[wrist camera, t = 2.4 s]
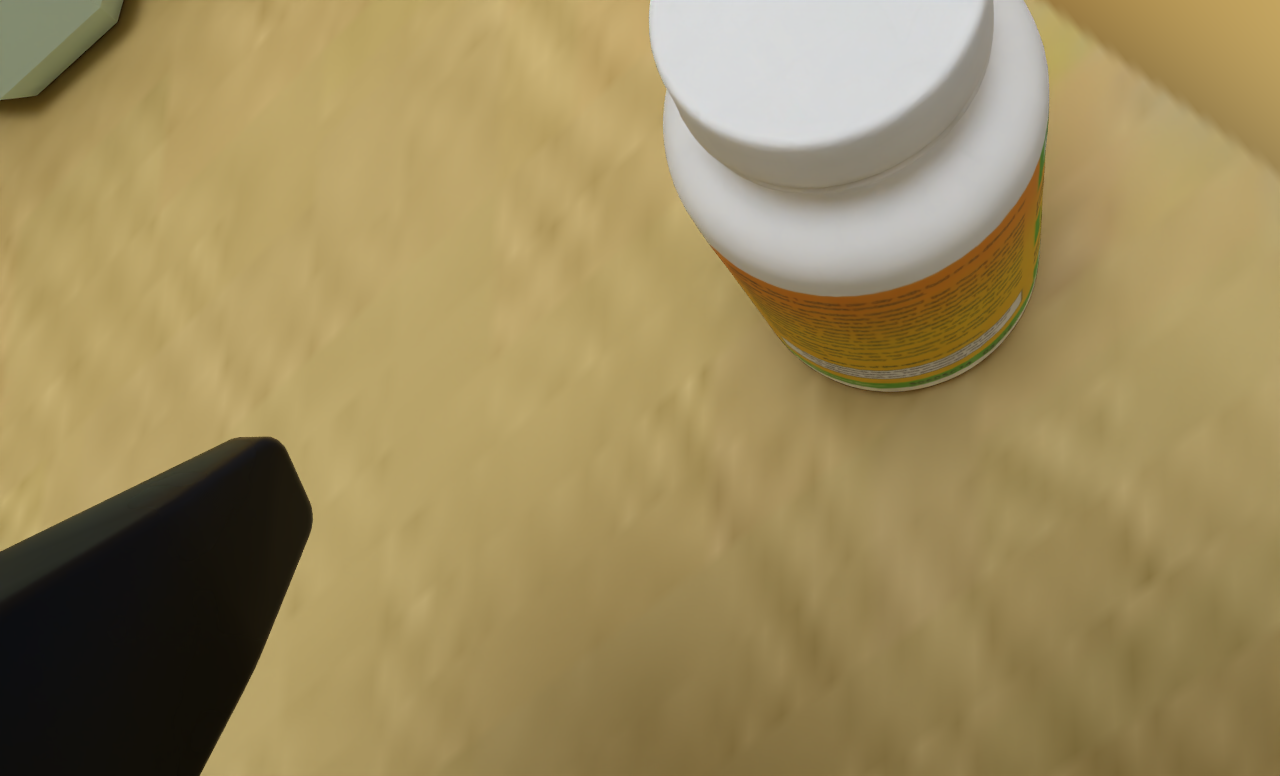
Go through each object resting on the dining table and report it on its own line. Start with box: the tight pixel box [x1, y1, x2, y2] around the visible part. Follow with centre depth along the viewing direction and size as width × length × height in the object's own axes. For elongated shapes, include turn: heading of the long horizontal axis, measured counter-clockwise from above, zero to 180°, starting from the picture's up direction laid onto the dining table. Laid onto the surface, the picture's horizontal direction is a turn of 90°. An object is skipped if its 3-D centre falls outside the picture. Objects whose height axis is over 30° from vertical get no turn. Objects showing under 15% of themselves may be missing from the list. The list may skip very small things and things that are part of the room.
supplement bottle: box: [649, 0, 1049, 392], centre depth 17 cm, size 5×5×10 cm
